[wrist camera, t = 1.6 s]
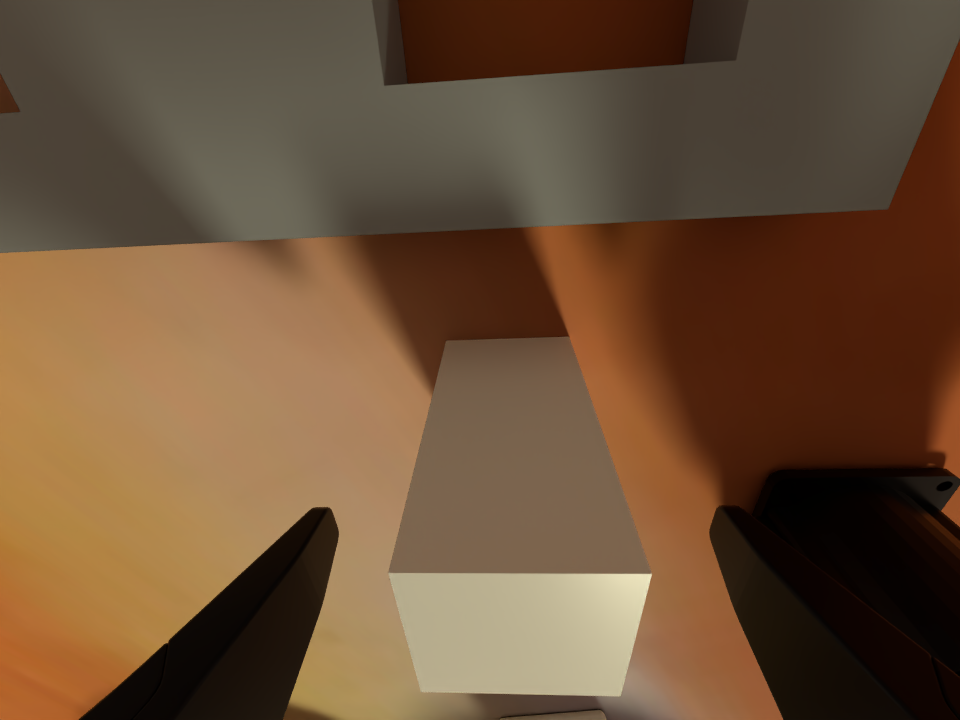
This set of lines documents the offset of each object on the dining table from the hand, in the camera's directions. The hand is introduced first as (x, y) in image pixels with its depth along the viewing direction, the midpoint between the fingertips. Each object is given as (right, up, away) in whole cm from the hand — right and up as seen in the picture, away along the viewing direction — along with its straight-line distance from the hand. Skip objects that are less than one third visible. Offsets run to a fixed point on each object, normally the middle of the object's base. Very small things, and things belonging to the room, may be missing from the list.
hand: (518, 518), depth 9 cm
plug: (0, +3, +5) cm, 5 cm away
